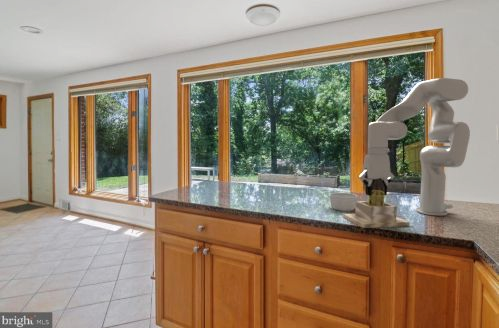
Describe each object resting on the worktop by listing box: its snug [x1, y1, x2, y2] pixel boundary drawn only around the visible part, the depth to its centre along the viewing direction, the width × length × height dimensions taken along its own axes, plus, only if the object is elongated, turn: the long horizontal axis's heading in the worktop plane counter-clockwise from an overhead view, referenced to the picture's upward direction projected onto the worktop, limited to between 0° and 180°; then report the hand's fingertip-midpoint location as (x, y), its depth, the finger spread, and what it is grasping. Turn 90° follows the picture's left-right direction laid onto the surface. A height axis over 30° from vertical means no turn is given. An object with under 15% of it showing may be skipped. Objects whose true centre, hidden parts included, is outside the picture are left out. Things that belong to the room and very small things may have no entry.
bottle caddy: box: [343, 200, 411, 229], centre depth 120 cm, size 20×16×8 cm
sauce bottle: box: [367, 178, 386, 207], centre depth 119 cm, size 7×6×20 cm
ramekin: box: [329, 192, 358, 212], centre depth 143 cm, size 13×13×7 cm
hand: (376, 194), depth 119 cm, fingers closed on sauce bottle, 6 cm apart
